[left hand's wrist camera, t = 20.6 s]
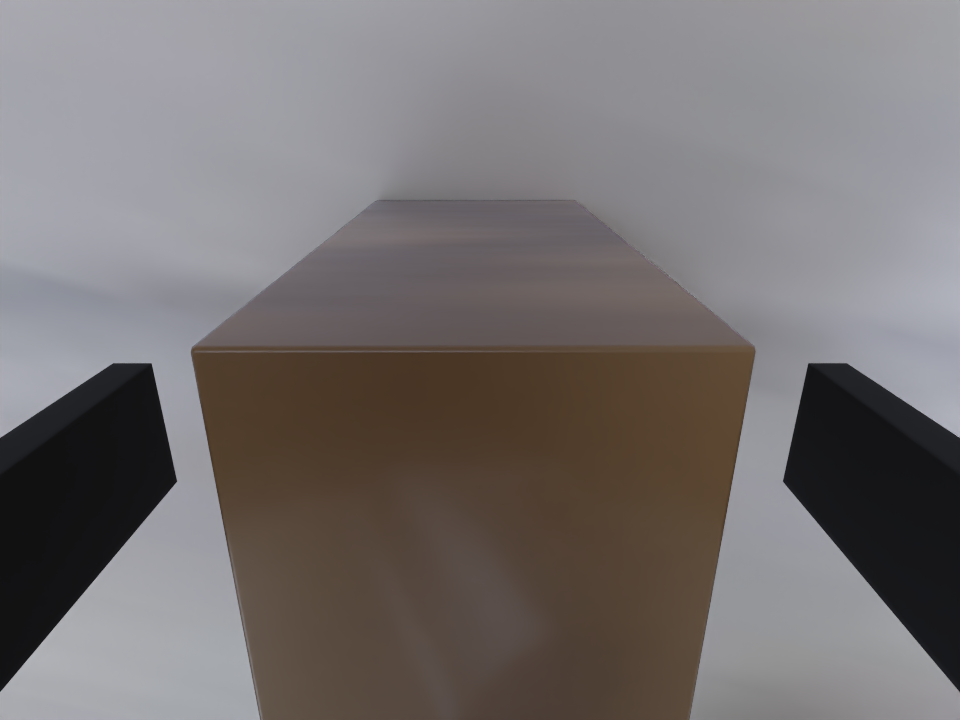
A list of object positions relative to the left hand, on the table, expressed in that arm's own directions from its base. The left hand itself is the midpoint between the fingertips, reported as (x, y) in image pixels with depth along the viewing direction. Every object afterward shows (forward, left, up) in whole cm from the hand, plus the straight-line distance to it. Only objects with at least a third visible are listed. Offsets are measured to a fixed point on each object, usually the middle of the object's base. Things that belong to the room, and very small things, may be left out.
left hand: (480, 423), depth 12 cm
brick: (0, 0, -5) cm, 5 cm away
